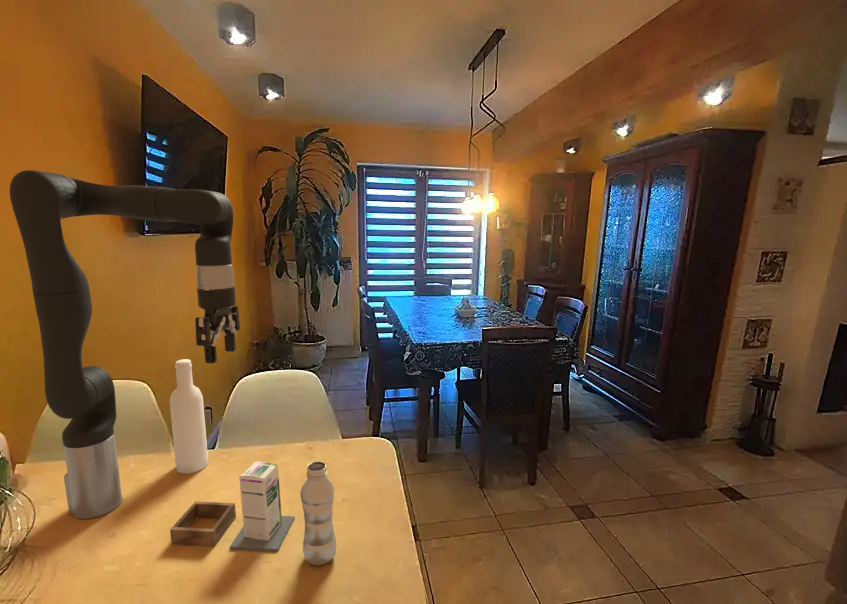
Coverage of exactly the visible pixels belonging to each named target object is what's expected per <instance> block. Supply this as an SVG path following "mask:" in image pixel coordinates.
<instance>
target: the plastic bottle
mask: <svg viewBox="0 0 847 604" xmlns="http://www.w3.org/2000/svg"><path fill="white" fill-rule="evenodd" d="M327 475H328V470H327V464H326V463H325V462H324V461H319V460H317V461H312V462H310V463H309V464H307V467H306V480H305V481H304V482H303V484H302V486H301V489H300V492H299V493H300V500H301V505H302V510H303V511H302V512H303V518H304V519H303V520H304V534H303V536H304V537H303V542H302V552H303V556H304V559H305V560H306V562H308V563H309V564H310V565H314V566H323V565H326V564H327V563H329V562H330V561H331V560H332V559H333V558H334V557H335V555H336V551H337V539H336V535H335V529H334V523H333V509H334V507H333V505H334V499H335V497H334V496H335V486H334V484H333V483H332V481H331V480H330V478H329V477H328V476H327Z"/></svg>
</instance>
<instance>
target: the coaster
mask: <svg viewBox="0 0 847 604" xmlns="http://www.w3.org/2000/svg"><path fill="white" fill-rule="evenodd" d="M281 516H282V524H281V525H280V526H279V528H278V529H277V530H276V532H275V533H274V534H273V535H272V537H271V538H270V540H269V541H265V540H258V539H252V538H247V537H245V536H244V525H243V526H242V528H241V529H240V530H239V532H238V534H237V535H236V537H235V538H234V540H232V542H231V544H230V546H229V550H239V551H240V550H241V551H259V552H260V551H261V552H277V553H278V552H279V550H280V548H281V546H282V544H283V542H284V541H285V538H286V536H287V534H288V533H289V531H290V529H291V527H292V525H293V523H294V521H295V520H296V517H295V515H293V516H292V515H281Z"/></svg>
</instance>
